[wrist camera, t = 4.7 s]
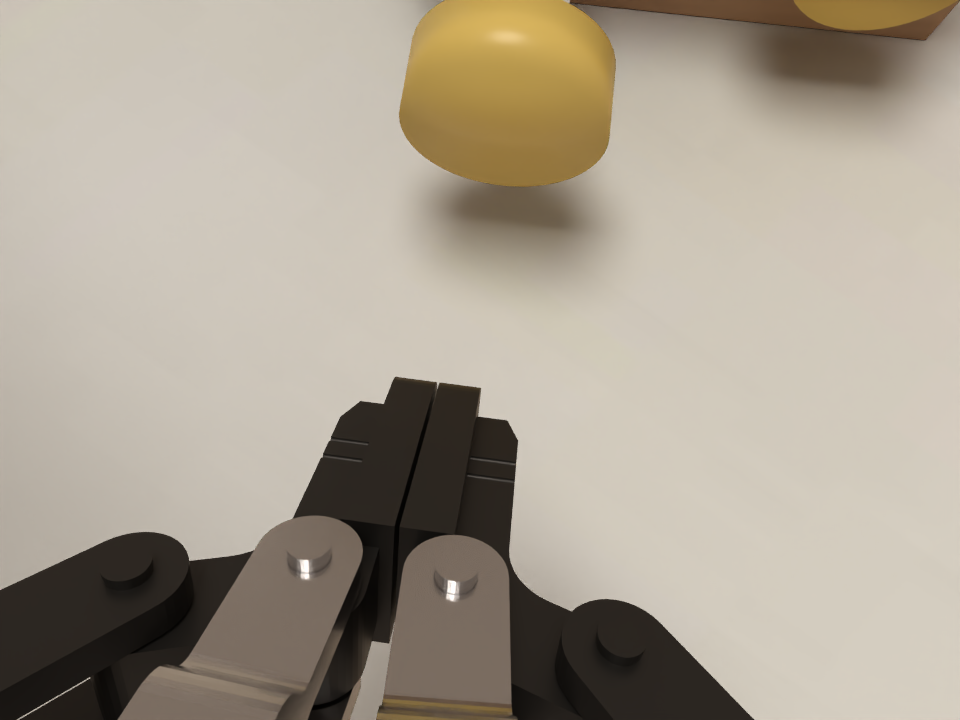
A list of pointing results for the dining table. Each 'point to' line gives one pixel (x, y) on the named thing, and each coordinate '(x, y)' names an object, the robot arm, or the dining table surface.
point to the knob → (509, 90)
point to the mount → (811, 13)
